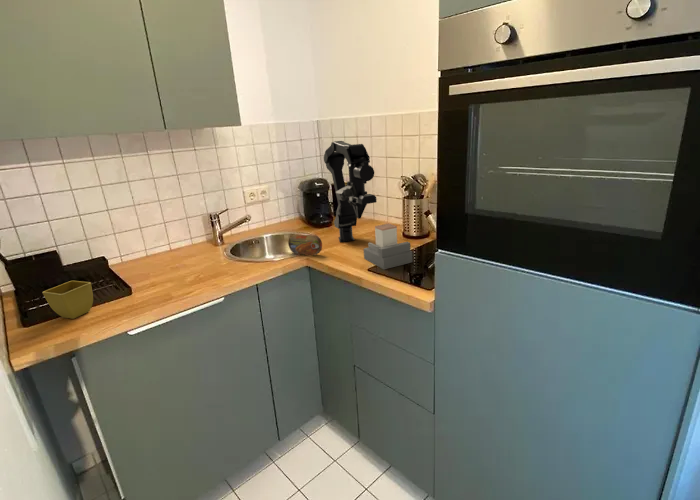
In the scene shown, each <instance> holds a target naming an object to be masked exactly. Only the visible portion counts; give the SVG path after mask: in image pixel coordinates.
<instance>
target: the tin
mask: <svg viewBox="0 0 700 500" xmlns="http://www.w3.org/2000/svg"><path fill="white" fill-rule="evenodd" d="M287 243H288V248H289V250H290V251H291V252H292V253H293V254H295V255H299V254H305V255H304V256H309V255H314V256H316V255H318V254H320V252H321V251H322V249H323V242H322V239H321V238H320V237H319V236H318V235H317V234H311V233H310V234H309V233H300V232H299V233H294V234H292V235H290V236H289V238H288V240H287Z"/></svg>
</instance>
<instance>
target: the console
mask: <svg viewBox="0 0 700 500" xmlns="http://www.w3.org/2000/svg"><path fill="white" fill-rule="evenodd" d="M367 245H368V247H364V248H363V259H364V260H365V261H367V262H370V263H371V264H373V265H375V266H377V267H378V268H380V269H382V270H388V269H391V268H394V267H395V268H396V267H399V266H403V265H406V264H407V265H408V264H410V263H413V251H412V249H411V242H409V241H403V242H401V243H400V242H399V243H398V242H397V243H394V244H390V245H387V246H386V247H382V248H380V247H379V246H377V245H376V243H373V242H368V243H367Z"/></svg>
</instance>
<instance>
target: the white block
mask: <svg viewBox="0 0 700 500" xmlns="http://www.w3.org/2000/svg"><path fill="white" fill-rule="evenodd" d="M374 235H375V236H374V237H375V245H377V246H379V247H380V248H382V247H386V246H387V245H390V244H394V243H397V244H398V228H397V225H394V224H392V223H385V224H380V225H375V226H374Z"/></svg>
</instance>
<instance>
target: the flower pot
mask: <svg viewBox="0 0 700 500" xmlns="http://www.w3.org/2000/svg"><path fill="white" fill-rule="evenodd" d="M42 295H43V297H44V298H45V300H46V302H47V303H48V305H49V306H50V308H51V310H52V311H54V312H55V314H57V315H58V316H60V317H61V318H65V319H76V318H78V317H80V316H82V315H85V314H86V313H89V312H90V311H91V309H92V307H93V303H94V294H93V288H92V282H90V281H79V280H70V281H67V282H64V283H62V284H59V285H57V286H54V287H51V288H48V289H46V290H44V291H42Z"/></svg>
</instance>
